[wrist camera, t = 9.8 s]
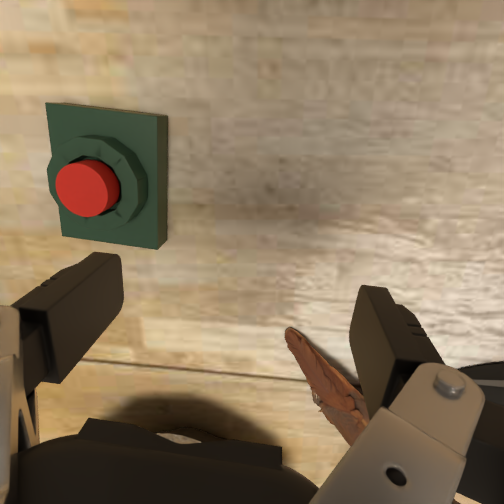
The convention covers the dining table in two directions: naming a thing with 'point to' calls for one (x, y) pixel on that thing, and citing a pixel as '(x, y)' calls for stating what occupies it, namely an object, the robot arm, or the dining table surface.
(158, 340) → the dining table surface
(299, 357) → the bird sculpture
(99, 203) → the red button
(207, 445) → the robot arm
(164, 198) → the button box
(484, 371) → the computer mouse
